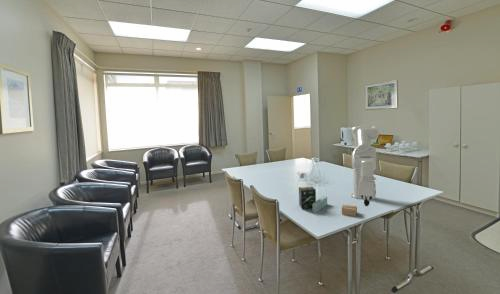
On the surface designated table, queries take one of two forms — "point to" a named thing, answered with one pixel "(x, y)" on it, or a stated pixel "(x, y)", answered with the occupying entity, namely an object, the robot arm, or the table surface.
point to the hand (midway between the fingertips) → (366, 205)
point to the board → (319, 204)
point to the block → (349, 210)
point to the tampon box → (307, 197)
